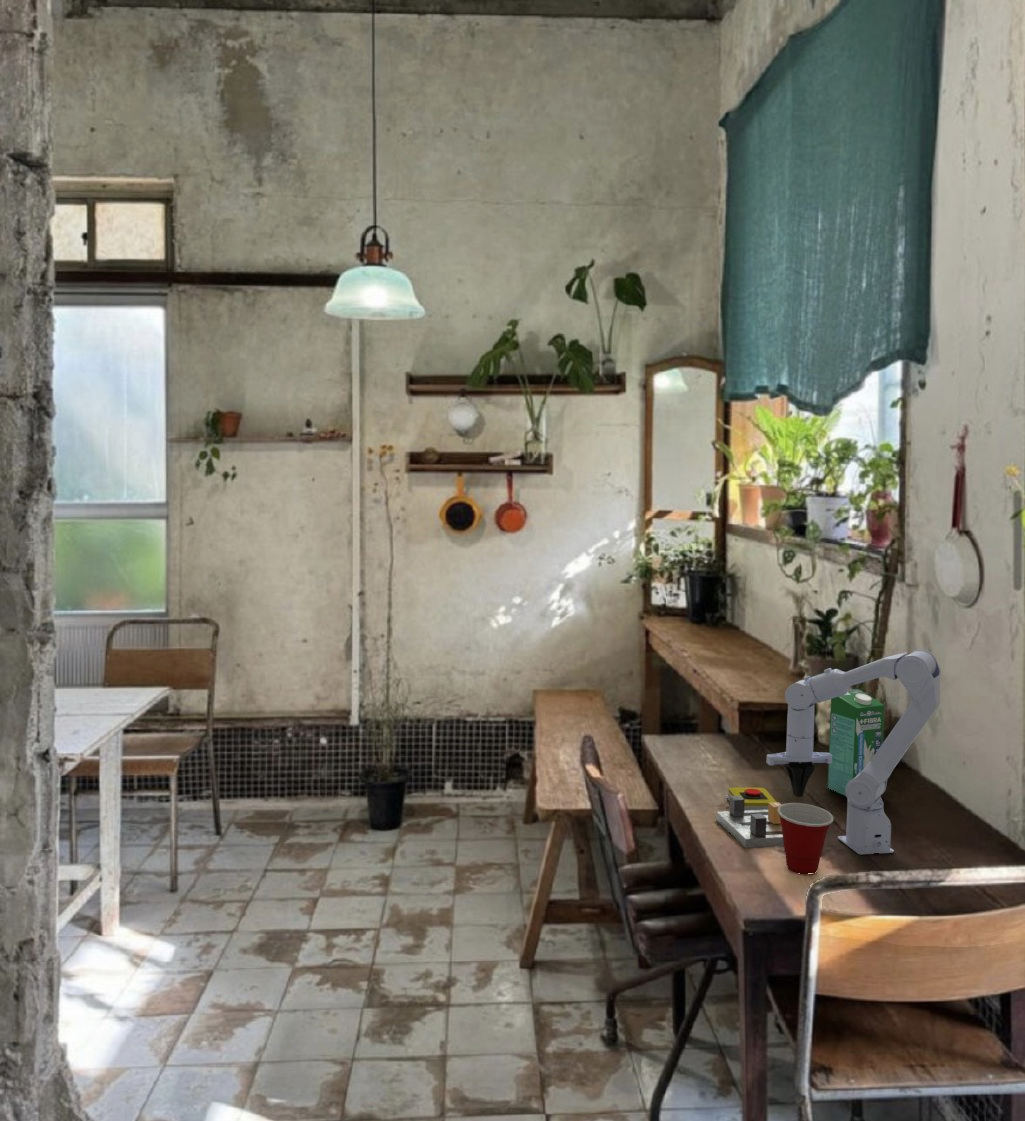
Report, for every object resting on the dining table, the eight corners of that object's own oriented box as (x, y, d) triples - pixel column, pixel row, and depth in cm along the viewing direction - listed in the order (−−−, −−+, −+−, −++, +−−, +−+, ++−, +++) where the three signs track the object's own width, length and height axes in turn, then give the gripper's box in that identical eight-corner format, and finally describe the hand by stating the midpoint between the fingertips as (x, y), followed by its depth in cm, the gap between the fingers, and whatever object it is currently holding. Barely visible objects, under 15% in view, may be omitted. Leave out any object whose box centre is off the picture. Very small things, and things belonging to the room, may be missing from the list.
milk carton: (852, 799, 240) (857, 698, 238) (827, 788, 248) (831, 691, 246) (881, 794, 243) (885, 695, 241) (854, 784, 252) (858, 688, 249)
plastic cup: (808, 885, 188) (810, 824, 187) (763, 867, 197) (765, 808, 196) (843, 872, 195) (845, 813, 194) (798, 855, 203) (800, 798, 202)
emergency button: (740, 799, 226) (724, 779, 241) (740, 818, 227) (724, 797, 242) (780, 799, 227) (762, 779, 242) (779, 818, 227) (761, 797, 242)
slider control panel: (807, 844, 209) (808, 817, 209) (745, 847, 207) (746, 820, 207) (774, 817, 226) (775, 792, 225) (716, 820, 224) (717, 794, 223)
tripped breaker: (783, 823, 216) (784, 805, 215) (773, 823, 215) (773, 806, 215) (778, 818, 218) (778, 801, 218) (767, 819, 218) (768, 802, 218)
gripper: (822, 729, 221) (820, 788, 222) (761, 731, 219) (759, 790, 220) (837, 737, 214) (835, 798, 215) (774, 739, 212) (772, 800, 213)
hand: (797, 795), depth 217 cm, fingers closed
